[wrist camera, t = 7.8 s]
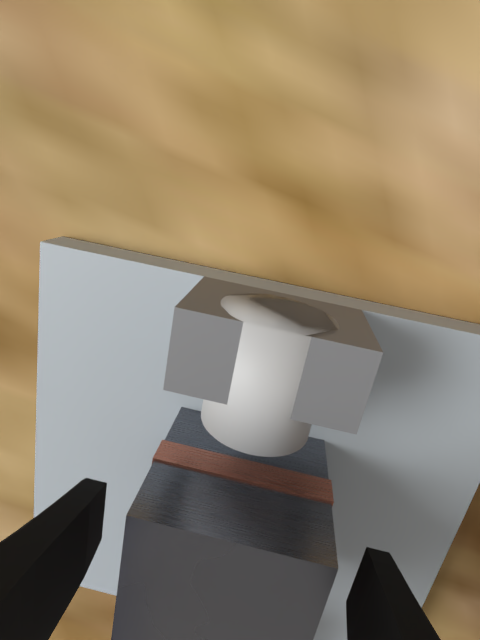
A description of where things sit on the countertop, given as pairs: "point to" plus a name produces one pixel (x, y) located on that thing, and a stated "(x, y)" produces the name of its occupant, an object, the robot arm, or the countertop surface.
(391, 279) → the countertop surface
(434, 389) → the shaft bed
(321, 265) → the countertop surface
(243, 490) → the block
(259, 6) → the countertop surface
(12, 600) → the robot arm
